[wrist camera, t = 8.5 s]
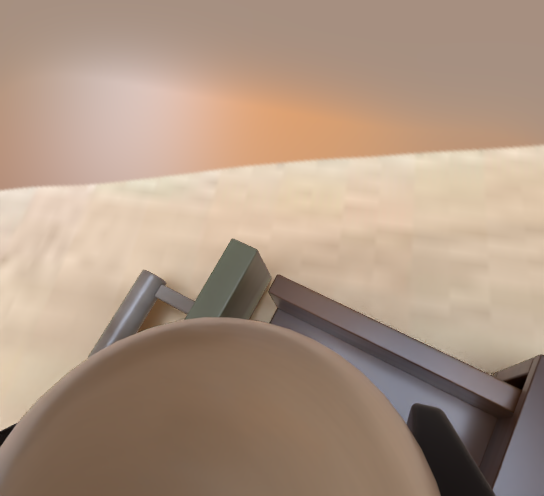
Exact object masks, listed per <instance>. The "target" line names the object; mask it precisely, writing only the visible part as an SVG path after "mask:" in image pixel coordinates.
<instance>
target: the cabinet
mask: <svg viewBox="0 0 544 496" xmlns="http://www.w3.org/2000/svg"><path fill="white" fill-rule="evenodd" d="M493 377H495V378H498V379H500V380H502V381H504V382H506V383H508V384H510V385H512V386H514V387H517V388H519V389H521V390H522V392H521V395H520V398H519V400H518V403H517V406H516V408H515V411H514V414H513V417H512V419H511V422H510V425H509V427H508V430H507V433H506V435H505V438H504V441H503V443H502V446H501V449H500V451H499V454H498V457H497V460H496V462H495V465H494V468H493V470H492V473H491V476H490V478H489V481H488V483H489V485H490V487H491V488H492V490H493V492H494V493H495V495H496V496H544V355H542V354H541V355H538V356H536V357H534V358H531V359H529V360H526V361H524V362H521V363H519V364H516V365H514V366H511V367H508V368H506V369H503V370H501V371H498V372H496V373H494V375H493Z"/></svg>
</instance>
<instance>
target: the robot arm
mask: <svg viewBox="0 0 544 496" xmlns="http://www.w3.org/2000/svg"><path fill="white" fill-rule="evenodd" d="M16 424H17V423H16ZM16 424H14V425H12V426H10V427H8V428H6V429H4V430H2V431H0V447H1V445H2V444H3V442H4V441H5V440H6V438H7V437H8V436H9V434H10V433H11V431H12V430H13V429H14V427H15V426H16ZM407 426H408V428H409V429H410V431H411V433H412V434H413V436H414V438H415V439H416V441H417V443H418V444H419V446H420V448H421V449H422V451H423V453H424V456H425V458H426V460H427V462H428V464H429V467H430V469H431V471H432V473H433V476H434V478H435V480H436V482H437V485H438V488H439V492H440V495H441V496H496V495H495V493H494V492H493V490H492V488H491V487H490V485H489V483H488V482H487V480H486V479H485V477H484V475H483V474H482V472H481V471H480V469H479V467H478V466H477V464H476V463H475V461H474V459H473V458H472V456H471V455H470V453H469V451H468V450H467V448H466V447H465V445H464V443H463V442H462V440H461V438H460V437H459V435H458V434H457V432H456V430H455V429H454V427H453V426H452V424H451V422H450V421H449V419H448V418H447V416H446V414H445V413H444V411H442V410H441V409H440V408H437V407H433V406H428V405H424V404H420V403H414V404H413V405H412V406H411V409H410V412H409V417H408V421H407Z"/></svg>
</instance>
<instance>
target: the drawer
mask: <svg viewBox="0 0 544 496" xmlns="http://www.w3.org/2000/svg"><path fill="white" fill-rule="evenodd" d="M270 280H271V275H270V273H269V271H268V269H267V267H266V265H265V263H264V262H263V260H262V258H261V256H260V254H259V252H258V250H257V249H255V248H253V247H251V246H248V245H246V244H244V243H242V242H240V241H238V240H236V239H231V241H230V243H229V244H228V246H227V248H226V250H225V251H224V253H223V255H222V256H221V258H220V260H219V261H218V263H217V265H216V267H215V268H214V270H213V272H212V273H211V275H210V277H209V279H208V280H207V282H206V284H205V285H204V287H203V289H202V290H201V292H200V294H199V296H198V297H197V299H196V301H193V300H191V299H189V298H187V297H185V296H183V295H181V294H180V293H178V292H176V291H174V290H172V289H170V288H168V287H166V286H165V285H166V282H165V281H164V280H163V279H161V278H160V277H158V276H156V275H155V274H153V273H151V272H149V271H147V270H142V272H141V274H140V275H139V277H138V278H137V280H136V281H135V283H134V285H133V286H132V288H131V289H130V291H129V293H128V294H127V296H126V297H125V299H124V301H123V302H122V304H121V305H120V307H119V308H118V310H117V312H116V313H115V315H114V316H113V318H112V320H111V321H110V323H109V324H108V326H107V328H106V329H105V331H104V332H103V334H102V336H101V337H100V339H99V340H98V342H97V343H96V345H95V347H94V348H93V350H92V351H91V353H90V355H89V356H88V358H89V357H90V356H92V355H93V354H95V353H97V352H99V351H100V350H102V349H104V348H106V347H108V346H109V345H111V344H113V343H115V342H117V341H119V340H121V339H124V338H126V337H129V336H131V335H134V334H136V333H137V331H138V330H139V328H140V326H141V325H142V323H143V322H144V320H145V318H146V317H147V315H148V313H149V312H150V310H151V308H152V307H153V305H154V303H155V302H156V300H157V299H160V300H161V301H163V302H165V303H167V304H169V305H171V306H172V307H174V308H176V309H178V310H180V311H182V312H184V313H185V314H187V316H186V318H185V319H184V320H187V319H195V318H202V317H231V318H241V319H248V320H249V318H250V316H251V315H252V313H253V311H254V309H255V307H256V305H257V304H258V302H259V300H260V298H261V296H262V294H263V293H264V291H265V289H266V287H267V285H268V284H269V282H270ZM268 292H269V294H270V296H271V297H272V299H273V301H274V303H275V304H276V306H277V307H278V308H277V310H276V312H275V313H274V315H273V317H272V319H271V321H270V324H273V325H277V326H281V327H284V328H288V329H291V330H293V331H295V332H298V333H300V334H302V335H305V336H307V337H309V338H312V339H314V340H316V341H317V342H319V343H321V344H322V345H324V346H326V347H327V348H329V349H331V350H333V351H334V352H336V353H338V354H339V355H340V356H342V357H343V358H344V359H346V360H347V361H348V362H349V363H351V364H352V365H353V366H355V367H356V368H357V369H358V370H360V371H361V372H362V373H363V374H364V375H365V376H366V377H367V378H368V379H369V380H370V381H371V382H372V383H373V384H374V385H375V386H376V387H377V388H378V389H379V390H380V391H381V392H382V393H383V394H384V395H385V396H386V398H387V399H388V400H389V401H390V403H391V404H392V405H393V407H394V408H395V409H396V410H397V412H398V413H399V414H400V416H401V417H402V418H403V419H404V421H405V423H406V424H407V421H408V417H409V412H410V409H411V406H412V405H413V404H414V403H420V404H424V405H428V406H433V407H437V408H440V409H441V410H442V411H444V413H445V414H446V416H447V418H448V419H449V421H450V422H451V424H452V426H453V427H454V429H455V430H456V432H457V434H458V435H459V437H460V438H461V440H462V442H463V443H464V445H465V447H466V448H467V450H468V451H469V453H470V455H471V456H472V458H473V459H474V461H475V463H476V464H477V466H478V467H479V469H480V471H481V472H482V474H483V475H484V477H485V479H486V480H487V482H488V481H489V478H490V476H491V473H492V470H493V468H494V465H495V462H496V460H497V457H498V454H499V451H500V449H501V446H502V443H503V441H504V438H505V435H506V433H507V430H508V427H509V425H510V422H511V419H512V417H513V414H514V411H515V408H516V406H517V403H518V400H519V398H520V395H521V392H522V390H521V389H519V388H517V387H514V386H512V385H510V384H508V383H506V382H504V381H502V380H500V379H498V378H495V377H493V376H491V375H489V374H487V373H485V372H483V371H481V370H479V369H477V368H474V367H472V366H470V365H468V364H466V363H464V362H462V361H460V360H458V359H456V358H453V357H451V356H449V355H447V354H445V353H443V352H441V351H439V350H437V349H435V348H432V347H430V346H428V345H426V344H424V343H422V342H420V341H418V340H416V339H413V338H411V337H409V336H407V335H405V334H403V333H401V332H399V331H397V330H395V329H392V328H390V327H388V326H386V325H384V324H382V323H380V322H378V321H376V320H374V319H371V318H369V317H367V316H365V315H363V314H361V313H359V312H357V311H355V310H352V309H350V308H348V307H346V306H344V305H342V304H340V303H338V302H336V301H334V300H331V299H329V298H327V297H325V296H323V295H321V294H319V293H317V292H315V291H313V290H310V289H308V288H306V287H304V286H302V285H300V284H298V283H296V282H294V281H292V280H289V279H287V278H285V277H283V276H281V275H277V276H276V278H275V280H274V282H273V283H272V285H271V287H270V289H269V291H268ZM88 358H87V359H88Z"/></svg>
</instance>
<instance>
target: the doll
mask: <svg viewBox="0 0 544 496" xmlns="http://www.w3.org/2000/svg"><path fill="white" fill-rule="evenodd" d="M0 496H441V495H440V492H439V488H438V485H437V482H436V480H435V478H434V476H433V473H432V471H431V469H430V467H429V464H428V462H427V460H426V458H425V456H424V453H423V451H422V449H421V448H420V446H419V444H418V443H417V441H416V439H415V438H414V436H413V434H412V433H411V431H410V429H409V428H408V426H407V424H406V423H405V421H404V419H403V418H402V417H401V416H400V414H399V413H398V412H397V410H396V409H395V408H394V407H393V405H392V404H391V403H390V401H389V400H388V399H387V398H386V396H385V395H384V394H383V393H382V392H381V391H380V390H379V389H378V388H377V387H376V386H375V385H374V384H373V383H372V382H371V381H370V380H369V379H368V378H367V377H366V376H365V375H364V374H363V373H362V372H361V371H360V370H358V369H357V368H356V367H355V366H353V365H352V364H351V363H349V362H348V361H347V360H346V359H344V358H343V357H342V356H340V355H339V354H338V353H336V352H334V351H333V350H331V349H329V348H327V347H326V346H324V345H322V344H321V343H319V342H317V341H316V340H314V339H312V338H309V337H307V336H305V335H302V334H300V333H298V332H295V331H293V330H291V329H288V328H284V327H281V326H277V325H273V324H270V323H266V322H262V321H255V320H248V319H241V318H231V317H202V318H195V319H187V320H179V321H175V322H171V323H167V324H163V325H159V326H155V327H152V328H149V329H146V330H144V331H141V332H139V333H136V334H134V335H131V336H129V337H126V338H124V339H121V340H119V341H117V342H115V343H113V344H111V345H109V346H108V347H106V348H104V349H102V350H100V351H99V352H97V353H95V354H93V355H92V356H90V357H89V358H88V359H86V360H85V361H83V362H82V363H81V364H79V365H78V366H76V367H75V368H74V369H72V370H71V371H70V372H68V373H67V374H66V375H65V376H64V377H63V378H61V379H60V380H59V381H58V382H57V383H56V384H55V385H54V386H53V387H51V388H50V389H49V390H48V391H47V392H46V393H45V394H44V395H43V396H41V397H40V398H39V399H38V400H37V401H36V403H35V404H34V405H33V406H32V407H31V408H30V409H29V410H28V412H27V413H26V414H25V415H24V416H23V417H22V418H21V419H20V421H19V422H18V423H17V424H16V426H15V427H14V429H13V430H12V431H11V433H10V434H9V436H8V437H7V438H6V440H5V441H4V442H3V444H2V445H1V447H0Z"/></svg>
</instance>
